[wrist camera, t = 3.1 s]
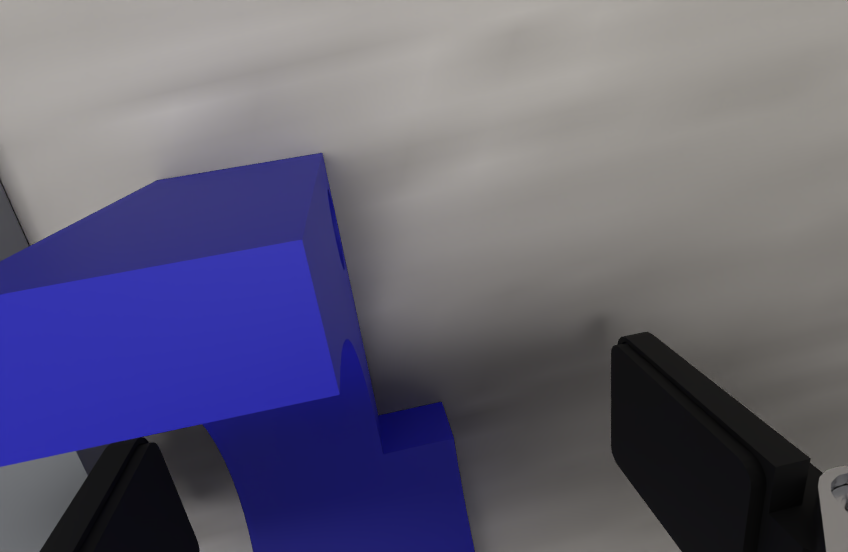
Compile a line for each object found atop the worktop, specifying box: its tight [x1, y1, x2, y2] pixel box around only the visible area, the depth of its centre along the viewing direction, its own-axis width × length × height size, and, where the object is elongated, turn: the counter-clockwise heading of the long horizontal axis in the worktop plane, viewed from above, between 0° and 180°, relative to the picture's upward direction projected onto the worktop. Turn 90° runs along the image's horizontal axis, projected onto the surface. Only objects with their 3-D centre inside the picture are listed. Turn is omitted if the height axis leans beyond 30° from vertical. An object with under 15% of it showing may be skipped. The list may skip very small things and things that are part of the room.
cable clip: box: [0, 153, 475, 552], centre depth 9 cm, size 12×4×6 cm, turn 8°
